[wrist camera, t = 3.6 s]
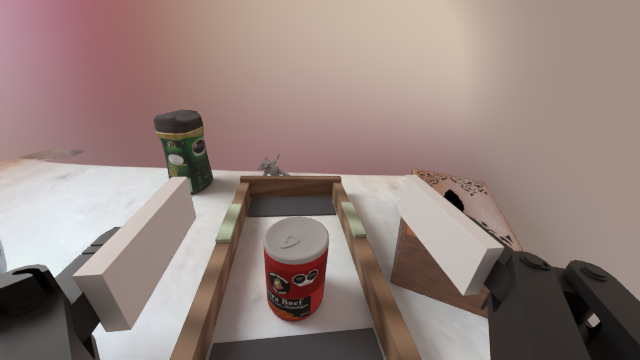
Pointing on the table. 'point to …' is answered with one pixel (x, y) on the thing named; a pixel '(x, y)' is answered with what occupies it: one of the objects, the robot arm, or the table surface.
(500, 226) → the tissue box cover
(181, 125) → the coffee jar
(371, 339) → the near trap pad
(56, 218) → the table surface
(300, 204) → the pad
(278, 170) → the grey toy figurine
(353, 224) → the lane box
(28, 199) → the table surface
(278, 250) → the canned food
